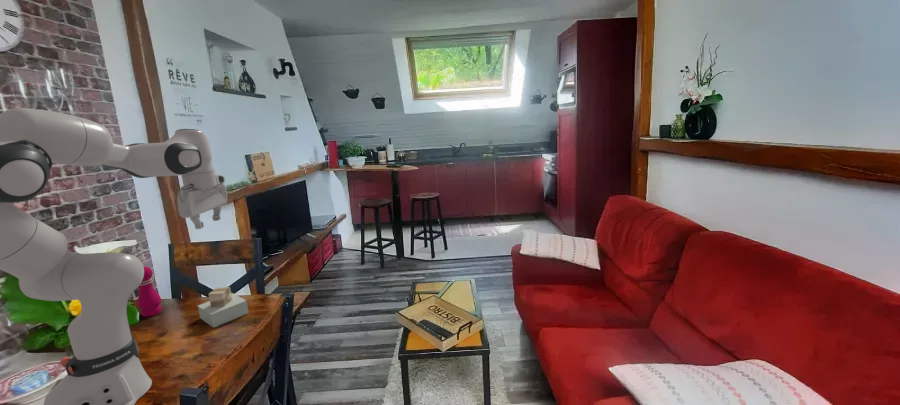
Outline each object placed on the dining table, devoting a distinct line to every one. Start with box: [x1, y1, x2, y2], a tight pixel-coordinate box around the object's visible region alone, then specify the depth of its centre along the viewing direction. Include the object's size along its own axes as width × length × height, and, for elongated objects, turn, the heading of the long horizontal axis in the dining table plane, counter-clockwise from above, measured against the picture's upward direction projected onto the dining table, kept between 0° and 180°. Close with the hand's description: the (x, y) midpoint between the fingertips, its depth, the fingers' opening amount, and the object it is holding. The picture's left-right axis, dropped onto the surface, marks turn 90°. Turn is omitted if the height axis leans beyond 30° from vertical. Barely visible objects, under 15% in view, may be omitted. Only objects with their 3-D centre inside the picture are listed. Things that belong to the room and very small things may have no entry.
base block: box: [197, 292, 250, 329], centre depth 141 cm, size 12×12×5 cm
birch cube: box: [208, 286, 233, 307], centre depth 140 cm, size 5×5×5 cm
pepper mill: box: [136, 266, 163, 318], centre depth 145 cm, size 7×7×20 cm
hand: (208, 224), depth 124 cm, fingers open, 8 cm apart
